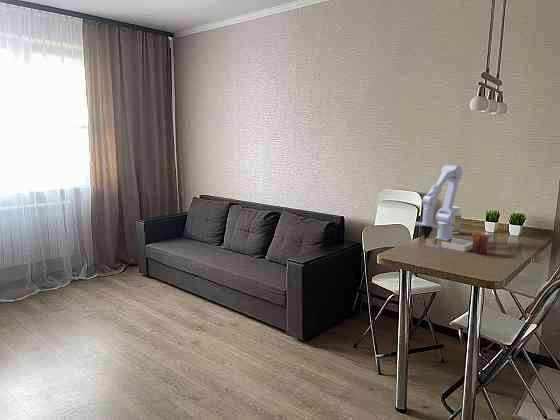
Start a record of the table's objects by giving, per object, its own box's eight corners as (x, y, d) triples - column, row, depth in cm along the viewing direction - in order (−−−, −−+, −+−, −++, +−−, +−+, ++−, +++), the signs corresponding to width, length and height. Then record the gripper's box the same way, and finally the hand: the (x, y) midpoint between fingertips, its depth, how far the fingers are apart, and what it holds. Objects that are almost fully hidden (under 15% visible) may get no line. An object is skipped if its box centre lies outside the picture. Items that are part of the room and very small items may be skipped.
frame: (451, 242, 246) (452, 237, 246) (475, 246, 238) (476, 241, 237) (441, 247, 234) (441, 242, 234) (465, 251, 226) (465, 246, 225)
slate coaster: (426, 244, 243) (426, 243, 243) (441, 246, 239) (441, 245, 239) (422, 246, 237) (422, 245, 237) (437, 249, 232) (437, 247, 232)
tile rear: (429, 241, 249) (429, 237, 249) (437, 242, 246) (438, 238, 246) (425, 242, 246) (426, 238, 245) (434, 244, 242) (434, 239, 242)
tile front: (439, 243, 246) (439, 239, 245) (448, 244, 242) (448, 240, 242) (436, 244, 242) (436, 240, 241) (444, 246, 239) (445, 241, 238)
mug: (472, 249, 231) (474, 231, 229) (490, 252, 226) (492, 233, 224) (466, 254, 221) (468, 234, 220) (485, 257, 216) (487, 237, 215)
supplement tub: (462, 234, 270) (465, 208, 268) (443, 234, 270) (446, 207, 267) (454, 230, 282) (457, 205, 280) (436, 230, 282) (438, 205, 280)
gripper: (413, 215, 248) (411, 238, 250) (437, 218, 238) (435, 242, 240) (418, 213, 253) (416, 236, 255) (442, 217, 243) (440, 240, 245)
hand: (426, 239), depth 248 cm, fingers closed
